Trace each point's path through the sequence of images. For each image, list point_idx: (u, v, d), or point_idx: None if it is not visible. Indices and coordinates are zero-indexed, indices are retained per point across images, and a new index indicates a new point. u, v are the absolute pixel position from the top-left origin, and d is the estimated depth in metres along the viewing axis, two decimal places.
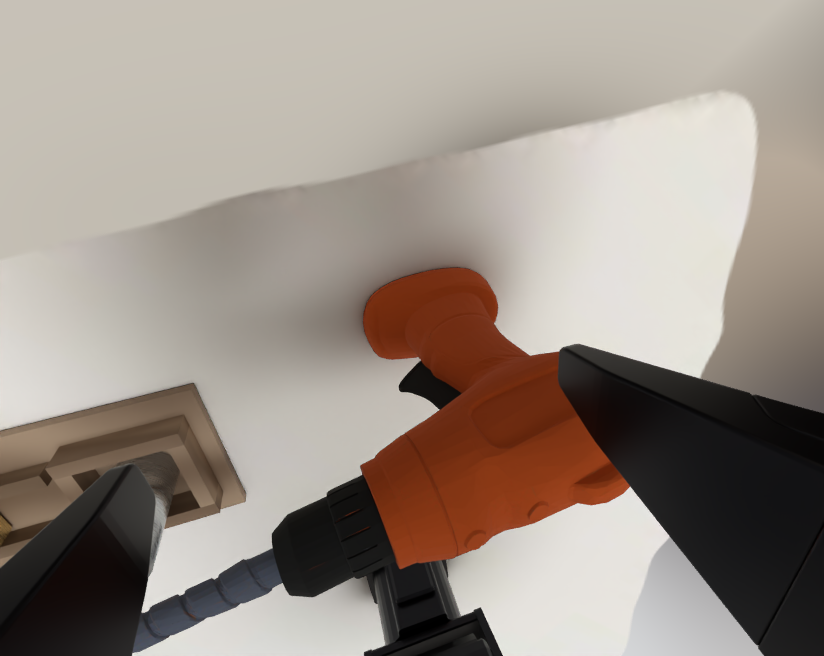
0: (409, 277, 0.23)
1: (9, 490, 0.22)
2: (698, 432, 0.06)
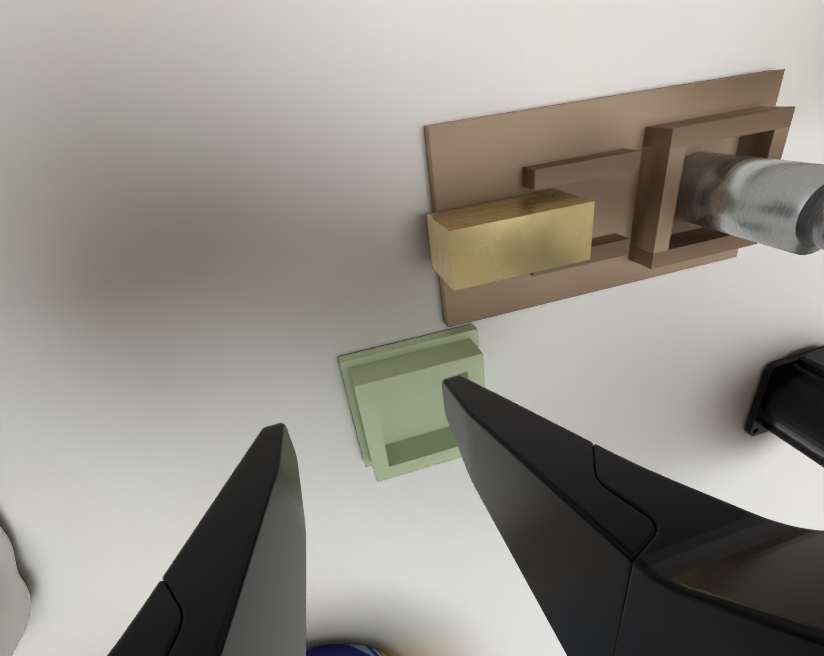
0: None
1: (608, 166, 0.18)
2: (532, 486, 0.06)
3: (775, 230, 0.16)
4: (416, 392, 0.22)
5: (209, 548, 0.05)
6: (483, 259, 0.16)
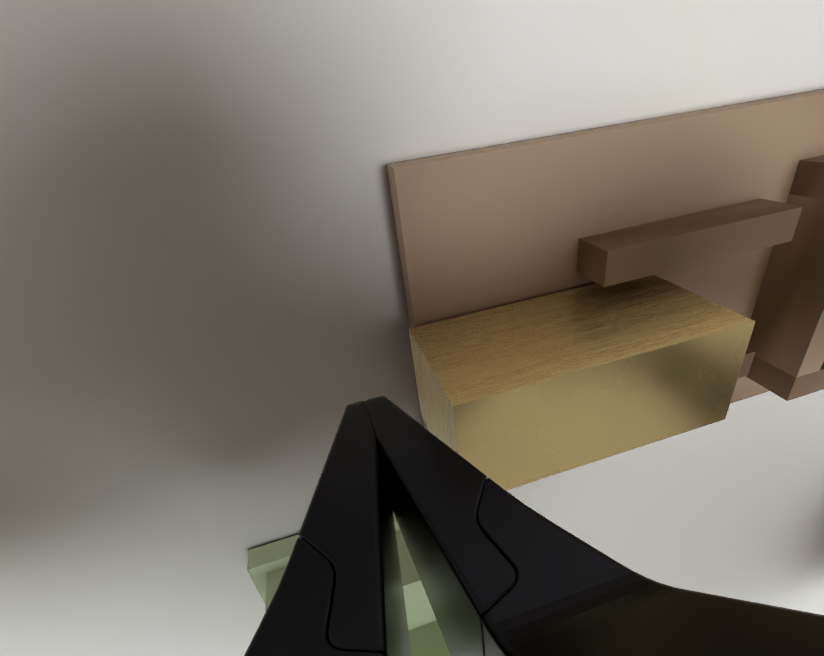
0: None
1: (741, 237, 0.10)
2: (419, 522, 0.06)
3: None
4: None
5: (336, 509, 0.06)
6: (526, 444, 0.08)
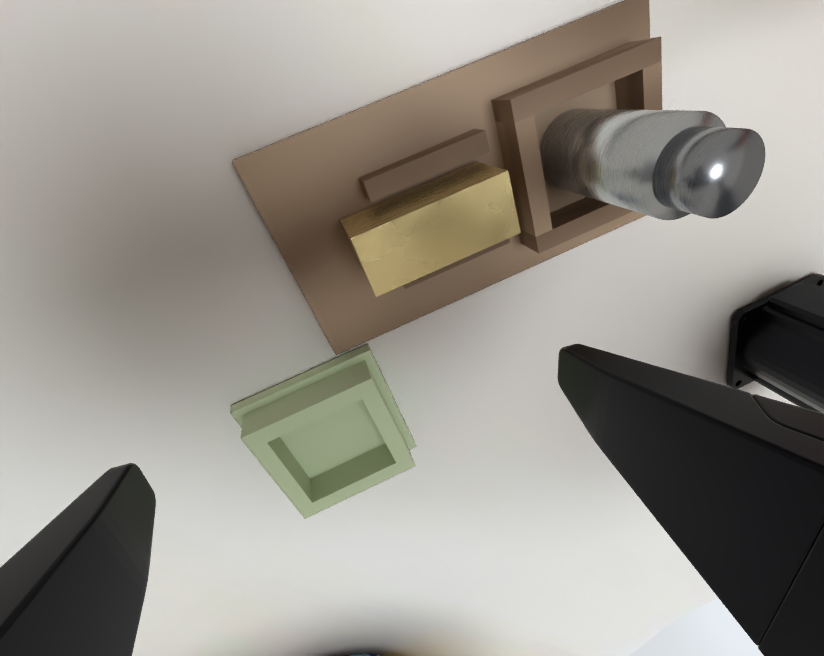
0: None
1: (451, 156, 0.16)
2: (698, 432, 0.06)
3: (634, 199, 0.14)
4: (326, 423, 0.21)
5: None
6: (399, 258, 0.15)
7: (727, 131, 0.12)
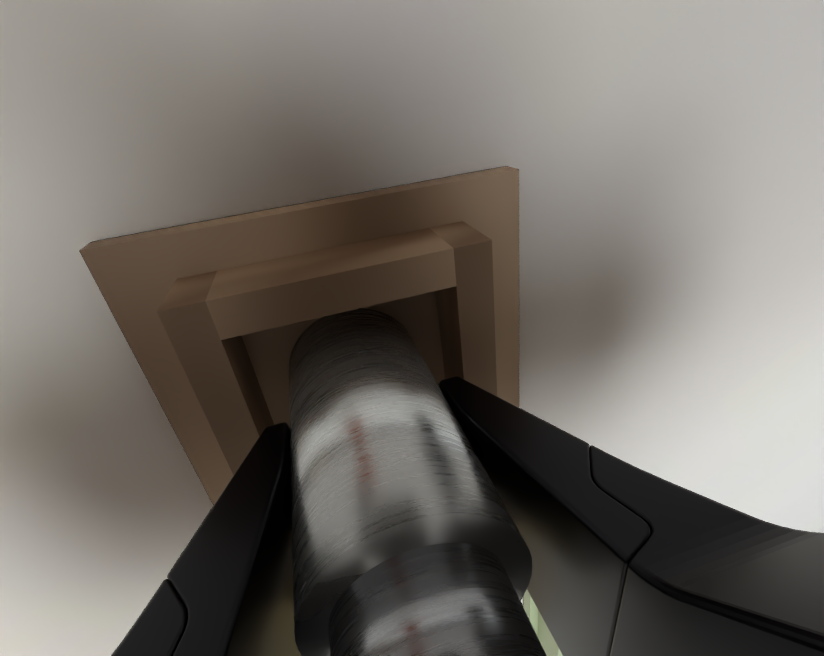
0: None
1: None
2: (528, 487, 0.06)
3: None
4: None
5: (213, 547, 0.06)
6: None
7: None
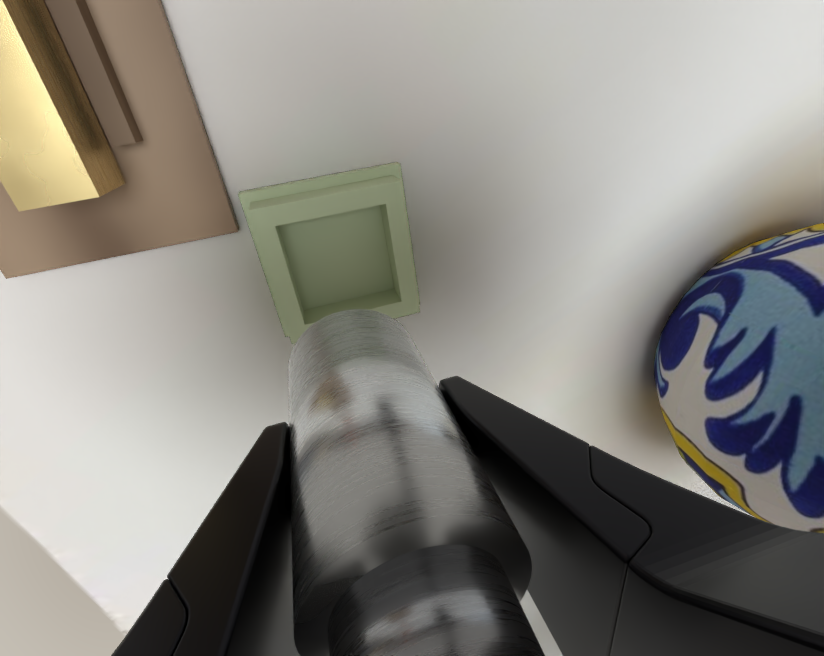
0: None
1: None
2: (528, 487, 0.06)
3: None
4: (326, 259, 0.20)
5: (213, 547, 0.06)
6: (42, 160, 0.13)
7: None
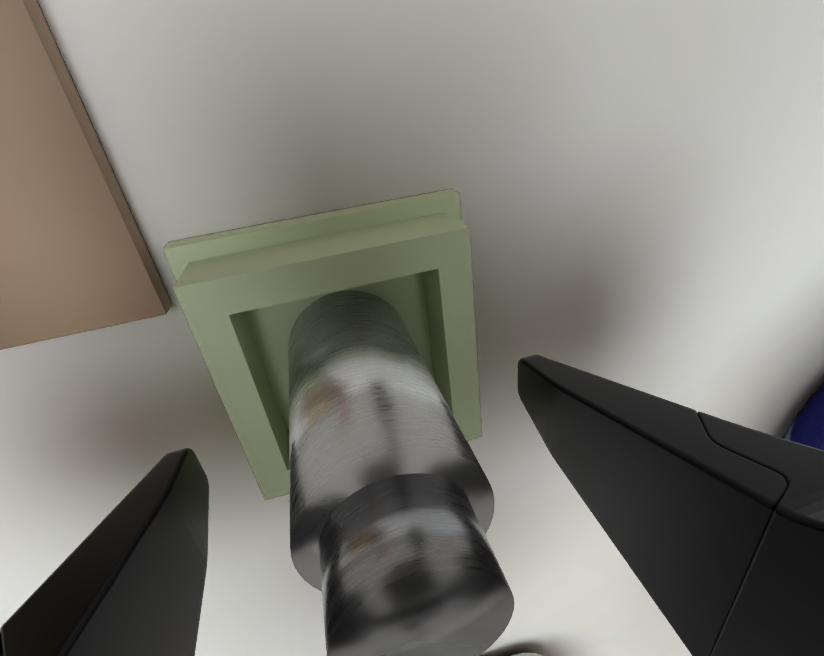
0: None
1: None
2: (641, 451, 0.06)
3: None
4: None
5: (58, 595, 0.05)
6: None
7: None
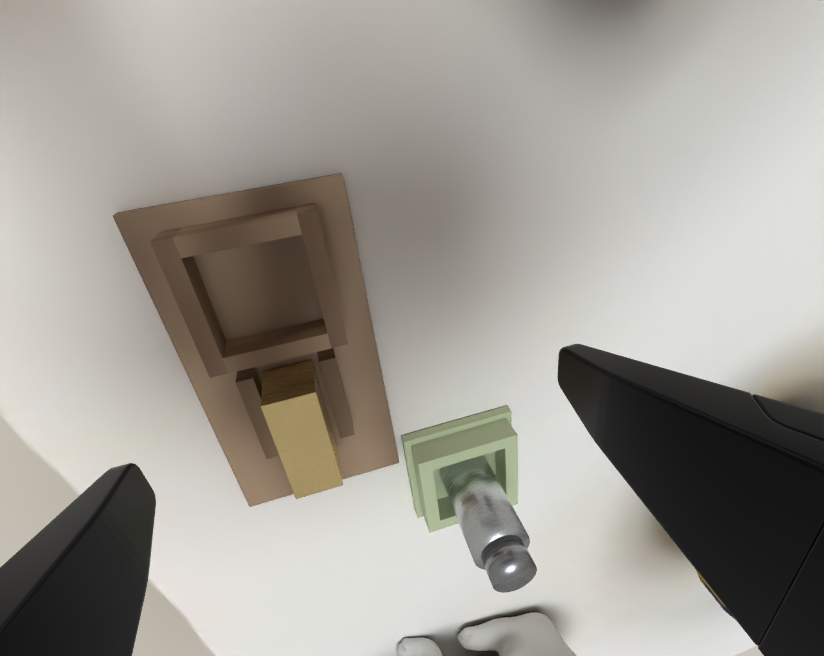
0: None
1: (254, 406, 0.21)
2: (698, 432, 0.06)
3: None
4: None
5: None
6: (317, 472, 0.21)
7: (491, 582, 0.21)
